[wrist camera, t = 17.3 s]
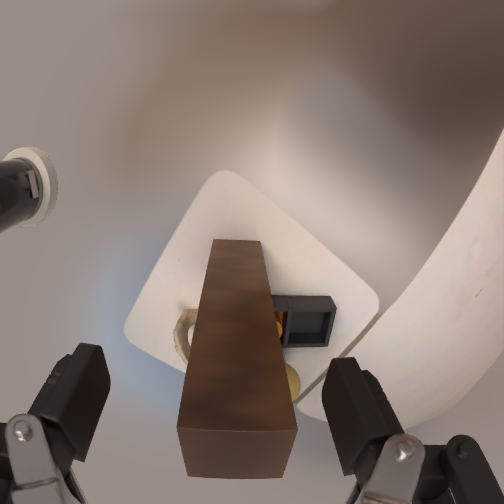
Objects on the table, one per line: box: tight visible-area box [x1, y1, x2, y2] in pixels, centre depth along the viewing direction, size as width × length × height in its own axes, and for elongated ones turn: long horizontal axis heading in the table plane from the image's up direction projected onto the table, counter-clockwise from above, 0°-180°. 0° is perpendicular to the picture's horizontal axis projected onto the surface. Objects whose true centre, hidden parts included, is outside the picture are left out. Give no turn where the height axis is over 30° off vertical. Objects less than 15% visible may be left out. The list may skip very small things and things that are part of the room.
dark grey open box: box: [271, 295, 337, 348], centre depth 39 cm, size 12×6×3 cm, turn 87°
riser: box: [177, 239, 298, 479], centre depth 25 cm, size 6×6×26 cm
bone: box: [173, 310, 198, 365], centre depth 36 cm, size 9×6×10 cm
